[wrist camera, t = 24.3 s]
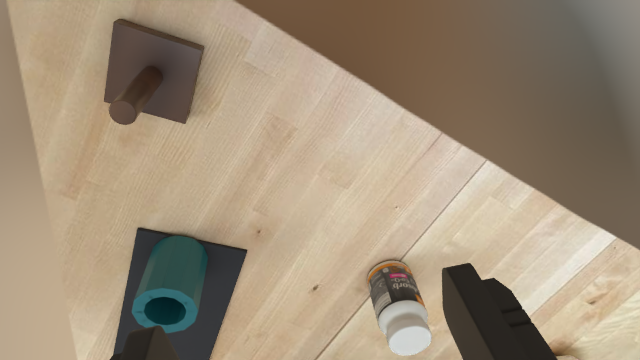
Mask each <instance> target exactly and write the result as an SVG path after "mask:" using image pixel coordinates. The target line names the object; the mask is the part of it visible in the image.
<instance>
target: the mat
mask: <svg viewBox="0 0 640 360" xmlns="http://www.w3.org/2000/svg"><path fill="white" fill-rule="evenodd" d="M172 236H176V235H172V234H167V233H162V232H157V231H152V230H147V229H143V228H138V229H137V234H136V239H135V244H134V250H133V255H132V260H131V265H130V270H129V276H128V281H127V286H126V291H125V296H124V302H123V307H122V312H121V317H120V323H119V328H118V333H117V338H116V343H115V349H114V354H119V353H122V351H123V348H124V345H125V342H126V340H127V337H128V335H129V333H130V332H131V331H133V330H138V329H143V328H146V327H144V326H142V325H140V324H139V323H138V322H137V321H136V319H135V317H134V315H133V314H132V307H133V302H134V299H135V296H136V293H137V291H138V288H139V285H140V282H141V280H142V277H143V274H144V271H145V269H146V266H147V263H148V260H149V258H150V255H151V252H152V249H153V247H154V246H155V245H156V244H157V243H158V242H160V241H161V240H162V239H163V238H167V237H172ZM194 240H196V239H194ZM196 241H197V242H199V243H200V244H201V245H203V246H204V248H205V251H206V253H207V256H208V261H207V266H206V272H205V277H204V283H203V288H202V293H201V299H200V304H199V310H198V313H197V317H196V320H195V322H194V323H193V324H191V325H190V326H189V327H187V328H186V329H185V330H181V331H176V332H171V333H166V335H167V336H168V338H169V340H170V342H171V344H172V345H173V347H174V349H175V351H176V353H177V355H178V356H179V359H180V360H209V358H210V355H211V353H212V350H213V347H214V344H215V341H216V338H217V336H218V333H219V330H220V327H221V324H222V321H223V319H224V316H225V313H226V310H227V307H228V304H229V302H230V299H231V296H232V293H233V290H234V287H235V285H236V282H237V279H238V276H239V273H240V270H241V267H242V265H243V262H244V259H245V256H246V253H247V250H244V249H239V248H235V247H230V246H225V245H220V244H215V243H210V242H205V241H201V240H196ZM114 354H113V355H114Z"/></svg>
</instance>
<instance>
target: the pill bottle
mask: <svg viewBox="0 0 640 360" xmlns="http://www.w3.org/2000/svg"><path fill="white" fill-rule="evenodd" d="M367 284H368V288H369V292H370V296H371V299H372V303H373V307H374V310H375V314H376V318H377V321H378V325H379V327H380V329H381V331H382V332H383V333H384V334H385V335H386V338H387V342H388V345H389V348H390V349H391V350H392V351H393V352H394V353H396V354H398V355H405V356H407V355H413V354H417V353H419V352H421V351H423V350H424V349H426V348H427V347H428V345H429V344H430V342H431V339H432V336H431V332H430V329H429V327H428V325H427V319H428V314H427V310H426V308H425V305H424V303H423V300H422V298H421V295H420V293H419V290H418V288H417V285H416V282H415V280H414V278H413V275H412V273H411V271H410V269H409V267H408V266H407V265H405V264H404V263H402V262H399V261H386V262H382V263H380V264H378V265H377V266H375V267H374V268H373V269H372V270H371V271H370V273H369V275H368V278H367Z"/></svg>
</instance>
